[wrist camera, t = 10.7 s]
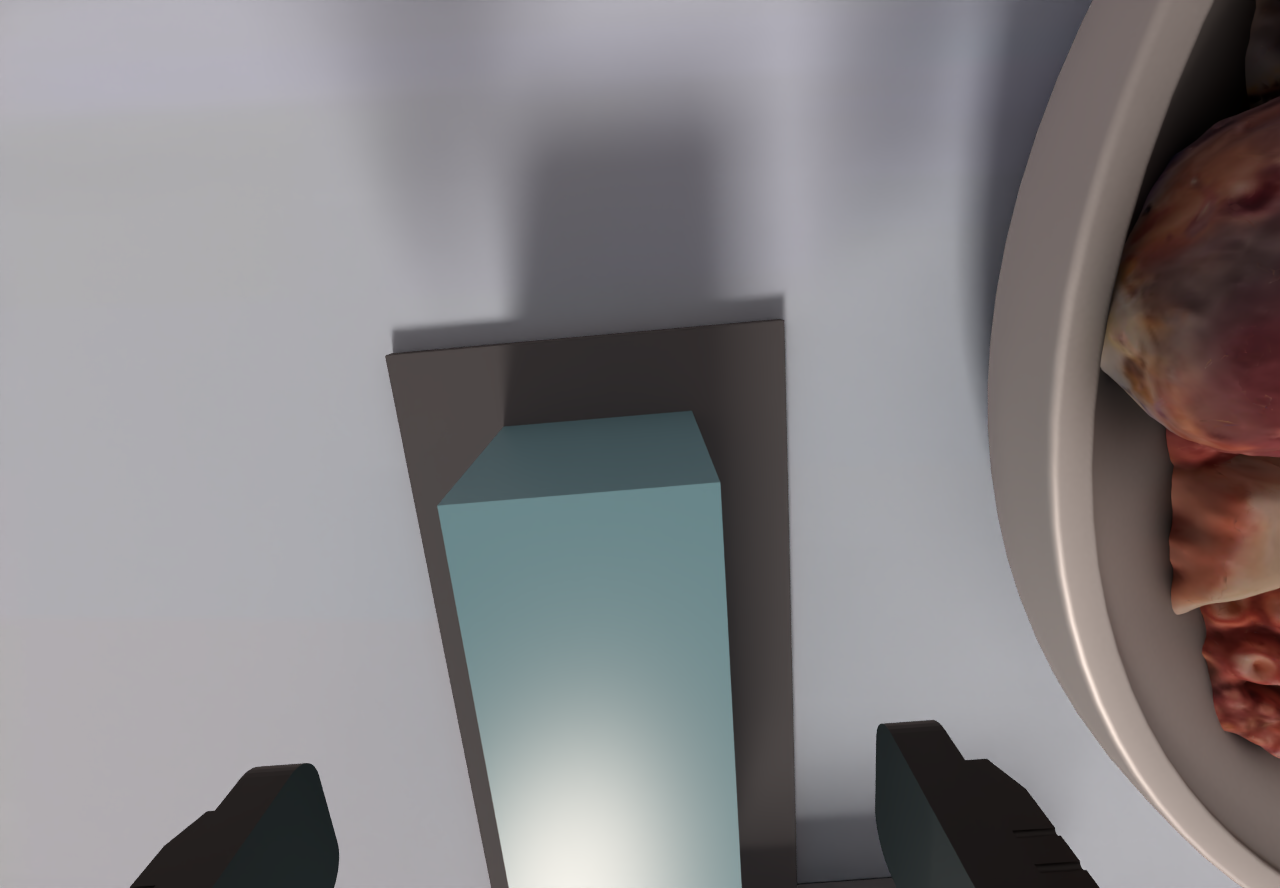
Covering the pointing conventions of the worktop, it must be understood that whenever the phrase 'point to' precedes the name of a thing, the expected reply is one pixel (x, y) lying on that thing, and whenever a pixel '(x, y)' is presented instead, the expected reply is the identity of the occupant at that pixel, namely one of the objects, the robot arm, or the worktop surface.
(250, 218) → the worktop surface
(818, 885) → the dispenser
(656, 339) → the mat
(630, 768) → the teal rectangular slab
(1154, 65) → the bowl
